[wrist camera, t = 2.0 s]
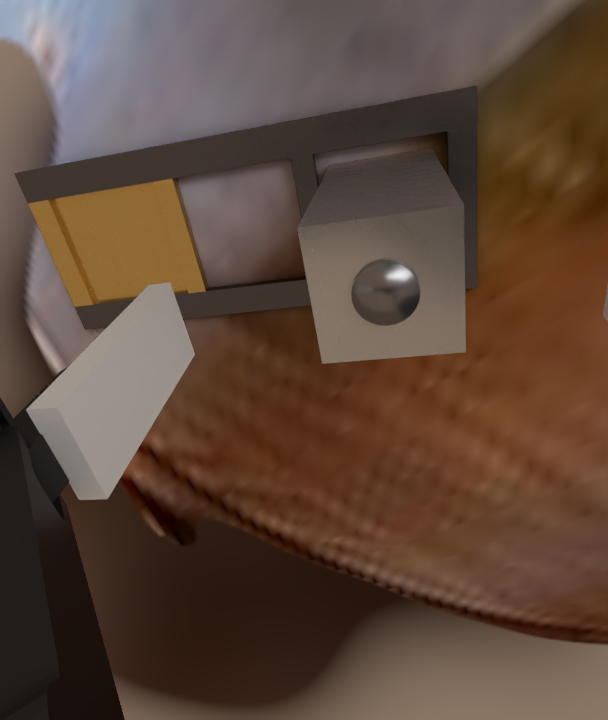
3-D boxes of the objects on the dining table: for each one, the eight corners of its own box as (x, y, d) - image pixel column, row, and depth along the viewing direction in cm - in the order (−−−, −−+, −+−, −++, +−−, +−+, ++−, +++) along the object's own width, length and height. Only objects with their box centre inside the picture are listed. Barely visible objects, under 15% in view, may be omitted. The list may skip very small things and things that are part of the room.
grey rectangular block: (436, 248, 26) (466, 354, 16) (343, 259, 27) (321, 366, 17) (431, 148, 23) (464, 206, 14) (329, 165, 24) (295, 229, 15)
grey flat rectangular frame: (475, 284, 27) (477, 287, 26) (88, 325, 32) (84, 329, 31) (475, 85, 22) (477, 86, 21) (20, 171, 27) (14, 173, 26)
